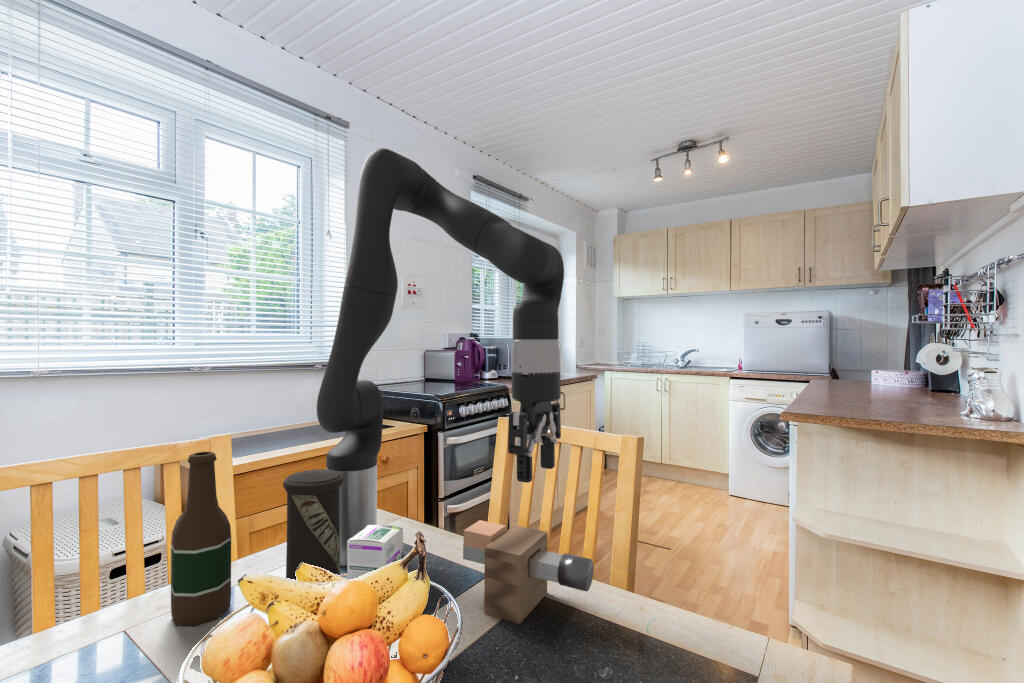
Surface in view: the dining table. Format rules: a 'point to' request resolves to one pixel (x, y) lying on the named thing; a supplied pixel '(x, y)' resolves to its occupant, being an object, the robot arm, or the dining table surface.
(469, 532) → the block
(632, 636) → the dining table surface
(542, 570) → the shaft
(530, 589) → the bearing block
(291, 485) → the container
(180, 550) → the beer bottle
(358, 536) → the syrup box
